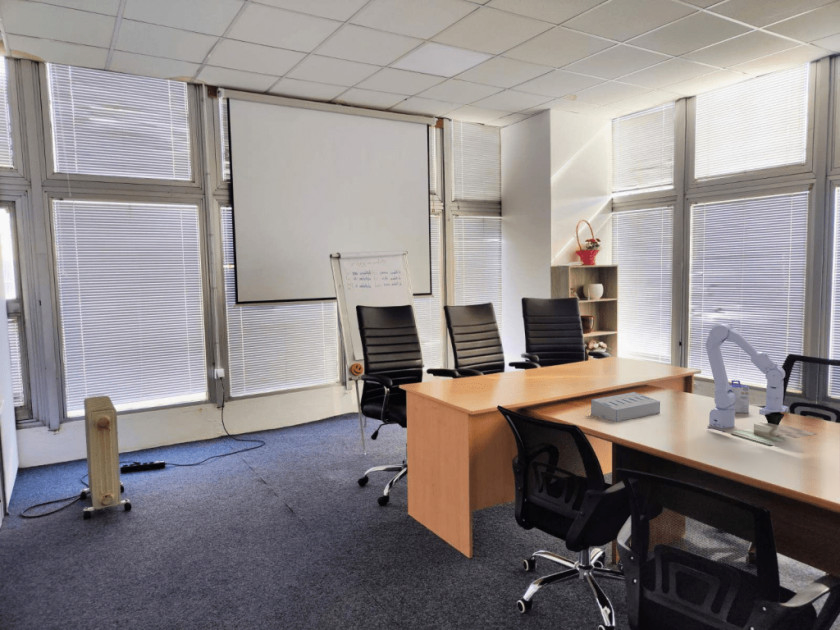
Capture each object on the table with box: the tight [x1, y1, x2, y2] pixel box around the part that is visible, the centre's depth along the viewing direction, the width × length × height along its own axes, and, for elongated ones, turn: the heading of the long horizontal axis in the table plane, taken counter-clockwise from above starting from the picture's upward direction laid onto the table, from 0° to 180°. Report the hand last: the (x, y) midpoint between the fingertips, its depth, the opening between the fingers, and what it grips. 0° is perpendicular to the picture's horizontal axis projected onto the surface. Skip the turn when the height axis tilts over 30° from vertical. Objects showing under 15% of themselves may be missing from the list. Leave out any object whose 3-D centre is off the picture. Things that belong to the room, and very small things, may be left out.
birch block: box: [753, 421, 779, 437], centre depth 220 cm, size 6×6×4 cm
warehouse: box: [590, 391, 661, 423], centre depth 259 cm, size 30×14×8 cm, turn 121°
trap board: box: [731, 423, 818, 447], centre depth 223 cm, size 28×16×2 cm, turn 113°
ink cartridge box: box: [730, 379, 750, 414], centre depth 262 cm, size 10×6×14 cm, turn 78°
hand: (773, 430), depth 222 cm, fingers closed
